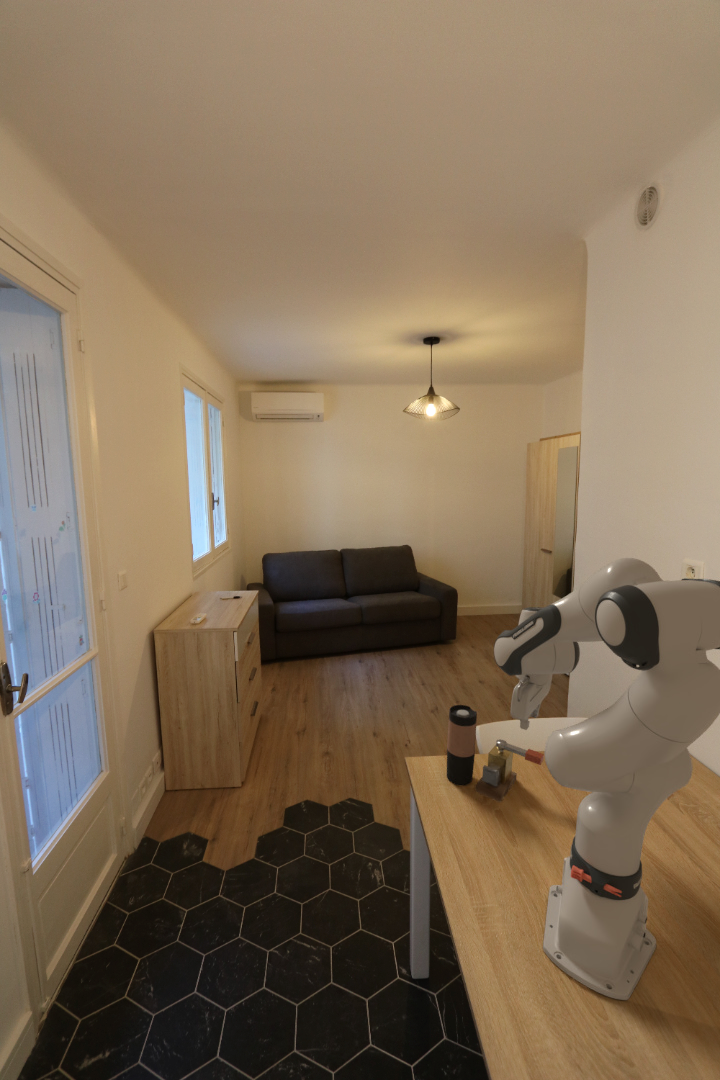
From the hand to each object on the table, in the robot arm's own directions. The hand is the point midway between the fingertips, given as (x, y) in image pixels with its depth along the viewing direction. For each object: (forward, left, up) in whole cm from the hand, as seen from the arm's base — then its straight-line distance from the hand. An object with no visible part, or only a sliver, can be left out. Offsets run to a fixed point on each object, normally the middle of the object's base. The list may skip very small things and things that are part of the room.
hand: (529, 722), depth 121 cm
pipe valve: (+3, +9, -21) cm, 23 cm away
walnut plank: (+3, +9, -23) cm, 25 cm away
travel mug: (0, +18, -23) cm, 30 cm away
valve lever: (+5, +4, -13) cm, 15 cm away
